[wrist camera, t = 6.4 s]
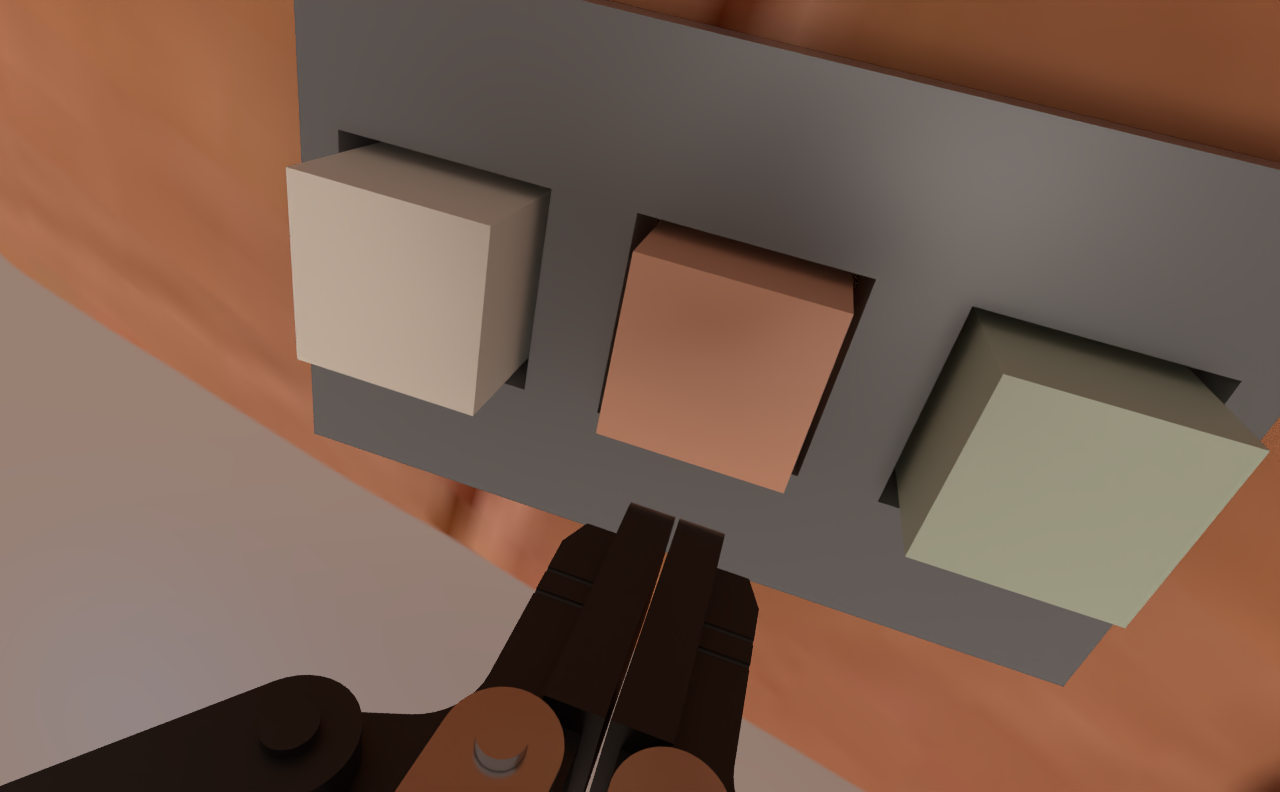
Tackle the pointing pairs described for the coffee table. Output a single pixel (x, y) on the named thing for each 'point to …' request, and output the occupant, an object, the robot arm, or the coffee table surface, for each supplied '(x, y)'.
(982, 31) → the coffee table surface
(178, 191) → the coffee table surface
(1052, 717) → the coffee table surface
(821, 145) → the key panel
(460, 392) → the key ivory
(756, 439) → the key terracotta
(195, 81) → the coffee table surface
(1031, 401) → the key sage
